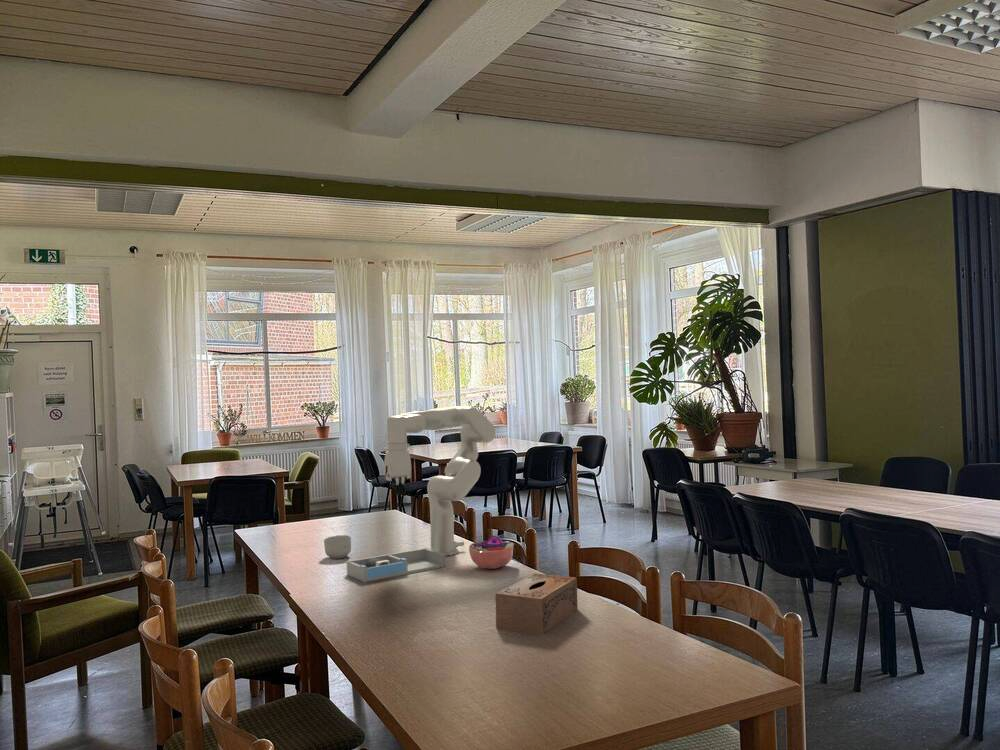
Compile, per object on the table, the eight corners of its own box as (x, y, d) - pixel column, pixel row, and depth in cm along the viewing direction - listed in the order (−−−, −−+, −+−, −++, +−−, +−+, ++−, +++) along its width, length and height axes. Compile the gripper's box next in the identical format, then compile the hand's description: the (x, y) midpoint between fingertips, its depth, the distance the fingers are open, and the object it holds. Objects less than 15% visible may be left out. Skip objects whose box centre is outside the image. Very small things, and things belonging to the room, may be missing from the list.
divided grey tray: (426, 560, 314) (426, 547, 314) (445, 566, 303) (445, 552, 303) (347, 574, 294) (346, 560, 294) (364, 582, 283) (364, 567, 283)
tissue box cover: (534, 605, 250) (534, 573, 250) (577, 610, 244) (576, 577, 244) (496, 628, 228) (495, 593, 228) (542, 635, 221) (541, 599, 221)
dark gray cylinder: (366, 570, 296) (366, 558, 296) (377, 568, 298) (377, 556, 298) (379, 575, 288) (378, 562, 288) (390, 573, 290) (389, 560, 290)
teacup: (348, 560, 318) (347, 540, 318) (321, 560, 318) (320, 540, 318) (355, 552, 332) (354, 533, 332) (329, 552, 332) (328, 533, 332)
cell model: (458, 571, 295) (458, 540, 295) (484, 559, 313) (484, 531, 313) (499, 575, 288) (498, 544, 288) (523, 563, 305) (523, 534, 305)
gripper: (409, 445, 318) (410, 491, 318) (375, 448, 309) (377, 495, 309) (418, 446, 312) (420, 493, 312) (385, 449, 303) (386, 497, 303)
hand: (398, 494), depth 310 cm, fingers closed
